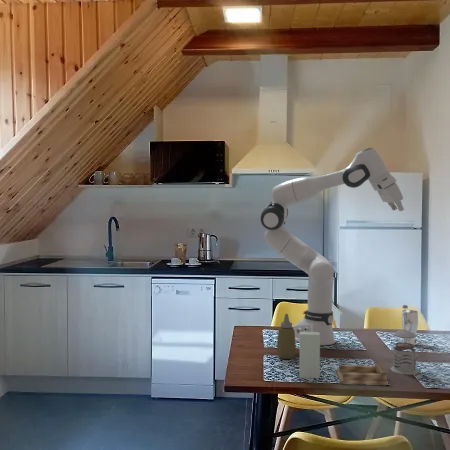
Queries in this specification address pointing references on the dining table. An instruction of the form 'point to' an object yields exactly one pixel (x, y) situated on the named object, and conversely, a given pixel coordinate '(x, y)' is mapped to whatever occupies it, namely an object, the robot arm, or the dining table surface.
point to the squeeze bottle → (286, 340)
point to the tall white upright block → (309, 355)
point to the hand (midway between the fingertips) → (398, 210)
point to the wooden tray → (362, 374)
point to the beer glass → (410, 324)
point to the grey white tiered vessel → (405, 353)
